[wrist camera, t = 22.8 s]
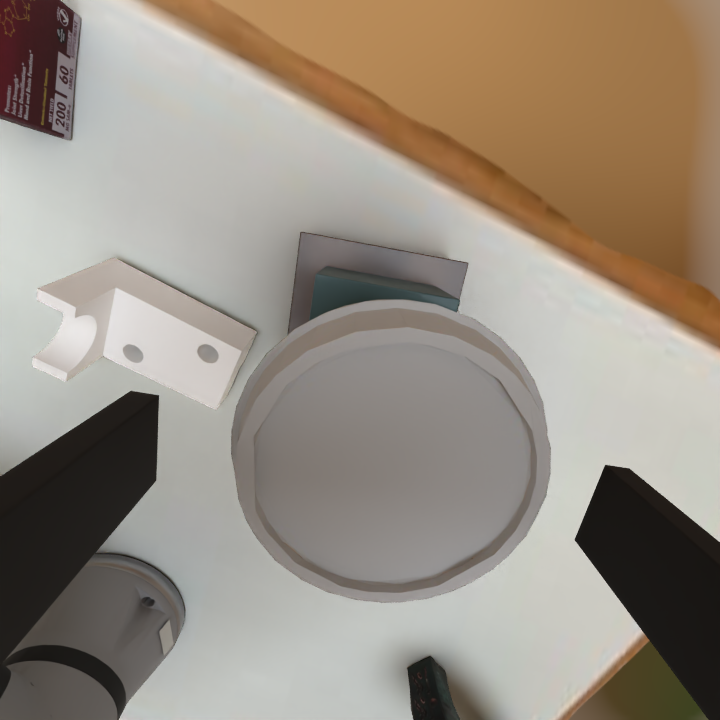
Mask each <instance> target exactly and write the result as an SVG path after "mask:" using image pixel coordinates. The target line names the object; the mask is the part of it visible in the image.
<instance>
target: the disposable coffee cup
mask: <svg viewBox="0 0 720 720" xmlns="http://www.w3.org/2000/svg"><path fill="white" fill-rule="evenodd" d="M231 455H232V461H233V466H234V471H235V478H236V485H237V492H238V499H239V502H240V505H241V507H242V510H243V513H244V515H245V518H246V521H247V522H248V524H249V526H250V528H251V529H252V531H253V533H254V534H255V536H256V538H257V539H258V540H259V542H260V543H261V544H262V545H263V546H264V547H265V549H266V550H267V551H268V552H269V553H270V555H271V556H272V557H273V558H274V559H275V561H277V562H278V563H279V564H281V565H282V566H284V567H285V568H286V569H288V570H289V571H290V572H292V573H293V574H295V575H296V576H297V577H299V578H300V579H302V580H303V581H305V582H307V583H309V584H312V585H314V586H316V587H318V588H320V589H322V590H324V591H326V592H329V593H333V594H337V595H340V596H344V597H348V598H351V599H355V600H363V601H372V602H381V603H387V602H406V601H413V600H420V599H427V598H431V597H434V596H437V595H441V594H444V593H448V592H451V591H454V590H456V589H458V588H460V587H462V586H465V585H467V584H469V583H471V582H473V581H474V580H476V579H478V578H479V577H481V576H483V575H484V574H486V573H488V572H489V571H491V570H492V569H493V568H495V567H496V566H497V565H498V564H499V563H501V562H502V561H503V560H504V559H505V558H507V557H508V556H509V555H510V554H511V553H512V551H513V550H514V549H515V548H516V547H517V546H518V545H519V543H520V542H521V541H522V540H523V539H524V538H525V537H526V535H527V533H528V531H529V530H530V528H531V526H532V524H533V522H534V520H535V518H536V516H537V514H538V512H539V510H540V508H541V506H542V504H543V501H544V499H545V497H546V493H547V488H548V483H549V478H550V455H551V447H550V443H549V440H548V436H547V425H546V419H545V413H544V407H543V401H542V399H541V396H540V394H539V391H538V389H537V386H536V384H535V381H534V379H533V378H532V376H531V374H530V373H529V371H528V370H527V368H526V366H525V365H524V363H523V362H522V360H521V358H520V357H519V356H518V355H517V354H516V353H515V352H514V351H513V350H512V349H511V348H510V347H509V346H508V345H507V344H506V343H505V342H504V341H503V340H502V339H501V338H500V337H499V336H498V335H496V334H495V333H493V332H492V331H490V330H489V329H488V328H486V327H485V326H483V325H482V324H480V323H479V322H478V321H476V320H475V319H473V318H470V317H467V316H465V315H462V314H460V313H457V312H454V311H452V310H449V309H447V308H444V307H441V306H439V305H436V304H431V303H424V302H418V301H412V300H371V301H365V302H360V303H355V304H351V305H346V306H343V307H340V308H337V309H334V310H331V311H328V312H326V313H324V314H322V315H320V316H318V317H316V318H314V319H312V320H311V321H309V322H307V323H305V324H303V325H301V326H299V327H298V328H296V329H294V330H293V331H292V332H291V333H290V334H289V335H287V336H286V337H285V338H284V339H283V340H282V341H281V342H279V343H278V344H277V345H276V346H275V347H274V348H273V349H272V350H270V351H269V352H268V353H267V354H266V355H265V357H264V358H263V359H262V361H261V362H260V364H259V365H258V366H257V368H256V369H255V370H254V372H253V373H252V375H251V376H250V377H249V379H248V381H247V383H246V385H245V388H244V390H243V392H242V395H241V397H240V399H239V402H238V404H237V406H236V411H235V416H234V421H233V426H232V437H231Z"/></svg>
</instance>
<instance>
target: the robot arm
mask: <svg viewBox="0 0 720 720" xmlns="http://www.w3.org/2000/svg"><path fill="white" fill-rule="evenodd" d="M158 408H159V395H153V394H146V393H140V392H134V391H130V392H128V393H127V394H125V395H124V396H122V397H121V398H119V399H118V400H116V401H115V402H113V403H112V404H110V405H109V406H107V407H106V408H104V409H103V410H101V411H99V412H98V413H96V414H95V415H93V416H92V417H90V418H89V419H87V420H86V421H84V422H83V423H81V424H80V425H78V426H77V427H75V428H74V429H72V430H70V431H69V432H67V433H66V434H64V435H63V436H61V437H60V438H58V439H57V440H55V441H54V442H52V443H51V444H49V445H48V446H46V447H45V448H43V449H41V450H40V451H38V452H37V453H35V454H34V455H32V456H31V457H29V458H28V459H26V460H25V461H23V462H22V463H20V464H19V465H17V466H16V467H14V468H12V469H11V470H9V471H8V472H6V473H5V474H3V475H2V476H0V720H119V718H120V716H121V714H122V712H123V710H124V708H125V706H126V704H127V703H128V701H129V700H130V699H131V697H132V696H133V695H134V694H135V693H136V692H137V690H138V689H139V688H140V687H141V686H142V685H143V683H144V682H145V681H146V680H147V679H148V678H149V676H150V675H151V674H152V673H153V672H154V670H155V669H156V668H157V667H158V666H159V665H160V663H161V662H162V661H163V660H164V659H165V657H166V656H167V655H168V654H169V652H170V651H171V650H172V648H173V647H174V645H175V643H176V641H177V638H178V636H179V634H180V632H181V629H182V627H183V624H184V618H185V611H184V605H183V602H182V599H181V597H180V595H179V593H178V591H177V590H176V588H175V587H174V585H173V584H172V583H171V582H170V581H169V580H168V579H167V578H166V577H165V576H164V575H163V574H162V573H160V572H159V571H157V570H156V569H154V568H153V567H151V566H149V565H147V564H145V563H143V562H141V561H138V560H136V559H133V558H129V557H125V556H120V555H113V554H95V553H96V551H97V550H98V549H99V548H100V547H101V546H102V544H103V543H104V542H105V541H106V540H107V538H108V537H109V536H110V535H111V534H112V532H113V531H114V530H115V529H116V528H117V526H118V525H119V524H120V523H121V522H122V521H123V519H124V518H125V517H126V516H127V515H128V513H129V512H130V511H131V510H132V509H133V507H134V506H135V505H136V504H137V503H138V501H139V500H140V499H141V498H142V497H143V496H144V494H145V493H146V492H147V491H148V490H149V488H150V487H151V486H152V485H153V484H154V482H155V481H156V471H157V439H158ZM575 541H576V542H577V544H578V545H579V546H580V548H581V549H582V550H583V552H584V553H585V554H586V556H587V557H588V558H589V560H590V561H591V562H592V564H593V565H594V566H595V568H596V569H597V570H598V572H599V573H600V574H601V576H602V577H603V578H604V580H605V581H606V583H607V584H608V585H609V587H610V588H611V589H612V591H613V592H614V593H615V595H616V596H617V597H618V599H619V600H620V601H621V603H622V604H623V605H624V607H625V608H626V609H627V611H628V612H629V613H630V615H631V616H632V617H633V619H634V620H635V621H636V623H637V624H638V625H639V627H640V628H641V630H642V631H643V632H644V634H645V635H646V636H647V638H648V639H649V640H650V642H651V643H652V644H653V646H654V647H655V648H656V650H657V651H658V652H659V654H660V655H661V656H662V658H663V659H664V660H665V662H666V663H667V664H668V666H669V667H670V668H671V670H672V671H673V672H674V674H675V675H676V676H677V678H678V679H679V680H680V682H681V683H682V685H683V686H684V687H685V688H686V690H687V691H688V693H689V694H690V695H691V696H692V698H693V699H694V701H695V702H696V703H697V705H698V706H699V707H700V709H701V710H702V711H703V713H704V714H705V715H706V717H707V718H708V719H709V720H720V542H719V541H717V540H716V539H715V538H714V537H712V536H711V535H710V534H709V533H708V532H706V531H705V530H704V529H703V528H701V527H700V526H699V525H698V524H697V523H695V522H694V521H693V520H692V519H690V518H689V517H688V516H687V515H686V514H684V513H683V512H682V511H681V510H679V509H678V508H677V507H676V506H674V505H673V504H672V503H671V502H670V501H668V500H667V499H666V498H665V497H663V496H662V495H661V494H660V493H659V492H657V491H656V490H655V489H654V488H652V487H651V486H650V485H649V484H648V483H646V482H645V481H644V480H643V479H641V478H640V477H639V476H638V475H637V474H635V473H634V472H633V471H632V470H630V469H628V468H622V467H615V466H609V465H605V467H604V469H603V472H602V474H601V477H600V479H599V482H598V484H597V486H596V489H595V491H594V494H593V496H592V499H591V501H590V504H589V506H588V508H587V511H586V513H585V516H584V518H583V521H582V523H581V526H580V528H579V531H578V533H577V535H576V538H575ZM94 554H95V555H94Z"/></svg>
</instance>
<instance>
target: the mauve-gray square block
mask: <svg viewBox="0 0 720 720" xmlns="http://www.w3.org/2000/svg"><path fill="white" fill-rule="evenodd" d="M326 266H330V267H335V268H341V269H346V270H352V271H357V272H362V273H368V274H373V275H379V276H384V277H390V278H395V279H401V280H406V281H412V282H417V283H423V284H428V285H434V286H436V287H438V288H440V289H442V290H443V291H445V292H447V293H449V294H450V295H452V296H454V297H456V298H458V299H460V295H461V291H462V287H463V283H464V279H465V275H466V271H467V267H468V263H467V262H461V261H456V260H451V259H445V258H440V257H434V256H429V255H424V254H418V253H413V252H408V251H402V250H397V249H391V248H386V247H381V246H375V245H370V244H364V243H359V242H354V241H348V240H343V239H338V238H332V237H327V236H321V235H316V234H311V233H305V232H301V233H300V241H299V249H298V257H297V265H296V273H295V281H294V288H293V296H292V304H291V312H290V320H289V328H288V335H289V334H290V333H291V332H292V331H293V330H294V329H296V328H298V327H299V326H301V325H303V324H305V323H307V322H309V317H310V310H311V303H312V296H313V289H314V282H315V275H316V274H317V273H318V272H319V271H320V270H322V269H323V268H324V267H326Z"/></svg>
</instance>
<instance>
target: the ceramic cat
mask: <svg viewBox="0 0 720 720" xmlns="http://www.w3.org/2000/svg"><path fill="white" fill-rule="evenodd" d="M407 669H408V677H409V685H410V698H411V711H412V715H413V719H414V720H460V718H459V716H458V714H457V712H456V709H455V707H454V705H453V702H452V698H451V695H450V692H449V687H448V682H447V677H446V673H445V671H444V670H443V669H442V668H441V667H439V666H438V665H437V664H436V663H435V661H434V660H433V659H432V657H429V658H426V659H424V660H422V661H420V662H418V663H416V664H414V665H412V666H411V667H409V668H407Z"/></svg>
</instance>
